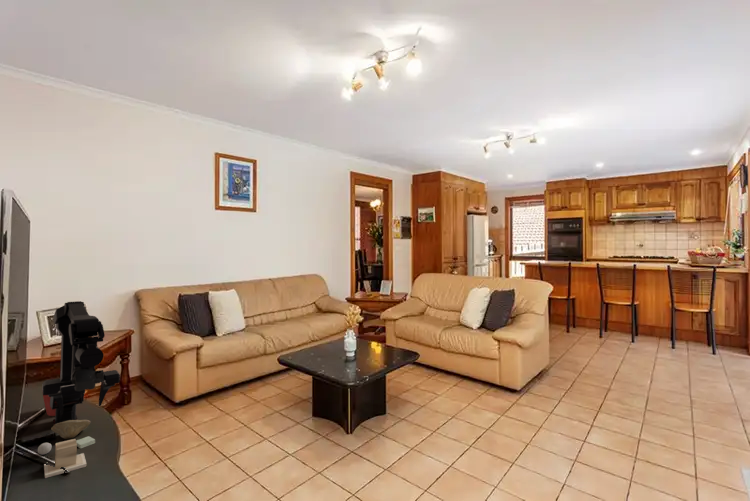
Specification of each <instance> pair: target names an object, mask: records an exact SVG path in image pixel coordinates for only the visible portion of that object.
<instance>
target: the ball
mask: <svg viewBox="0 0 750 501" xmlns="http://www.w3.org/2000/svg"><path fill="white" fill-rule="evenodd" d="M51 450H52V444H51V443H49V442H43V443H41V444H40V445H39V446H38V447H37V453H38V454H39V455H46V454H48V453H50V451H51Z"/></svg>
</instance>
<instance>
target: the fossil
mask: <svg viewBox="0 0 750 501" xmlns="http://www.w3.org/2000/svg"><path fill="white" fill-rule="evenodd" d="M90 425H91V420H88V419H78V420H69V421H64V422H61V423H57V424H55V425H54V424H53V426H51V427H50V428H51V431H52V432H53V433H55V434H58V436H59V437H60V438H62V439H65V440H69V439H75V437H76V436H78V434H80V433H81V432H83V431H84V430H85V429H87V428H88V426H90Z"/></svg>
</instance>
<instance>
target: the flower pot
mask: <svg viewBox="0 0 750 501" xmlns="http://www.w3.org/2000/svg"><path fill="white" fill-rule="evenodd" d="M41 393H42V398H43V403H44V408H45V411H46V414H47V416H49V417H55V412H56V409H53V410H52V409H51V407H50V398H51V397H49V396H48V395H43V392H42V391H41ZM55 403H56V402H55Z"/></svg>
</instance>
